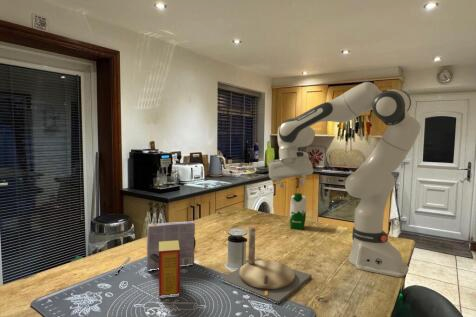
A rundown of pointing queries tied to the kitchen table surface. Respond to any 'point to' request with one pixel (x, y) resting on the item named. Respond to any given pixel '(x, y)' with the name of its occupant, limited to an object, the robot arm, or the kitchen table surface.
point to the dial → (264, 270)
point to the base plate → (271, 294)
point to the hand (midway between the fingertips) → (292, 186)
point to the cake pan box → (169, 233)
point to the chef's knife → (126, 261)
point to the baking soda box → (169, 267)
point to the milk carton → (297, 211)
